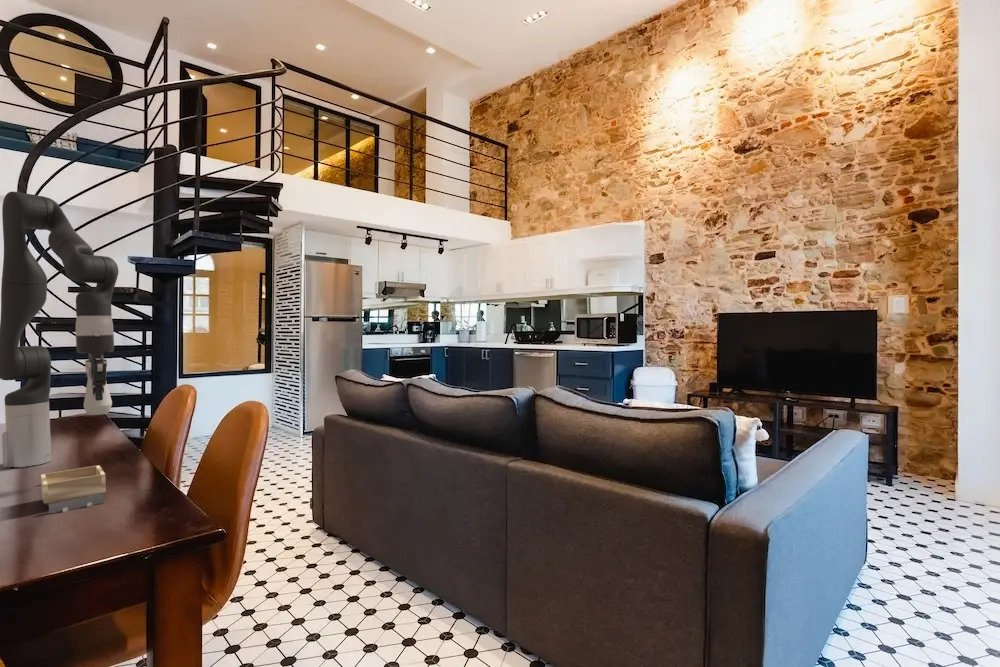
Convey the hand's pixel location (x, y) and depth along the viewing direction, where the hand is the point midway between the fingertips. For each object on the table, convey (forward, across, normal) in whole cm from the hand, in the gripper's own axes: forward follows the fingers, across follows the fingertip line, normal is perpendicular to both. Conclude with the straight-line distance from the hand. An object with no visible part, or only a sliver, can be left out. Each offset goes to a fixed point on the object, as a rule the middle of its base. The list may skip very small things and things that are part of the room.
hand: (97, 401), depth 131 cm
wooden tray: (+20, +16, -7) cm, 26 cm away
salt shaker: (+3, 0, 0) cm, 3 cm away
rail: (+20, +10, -7) cm, 23 cm away
